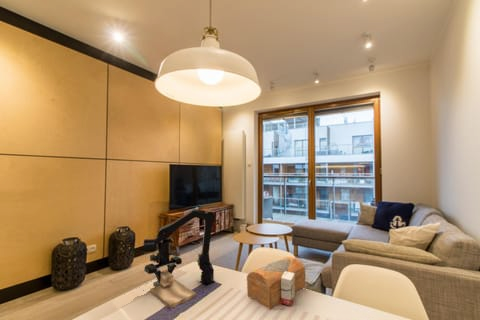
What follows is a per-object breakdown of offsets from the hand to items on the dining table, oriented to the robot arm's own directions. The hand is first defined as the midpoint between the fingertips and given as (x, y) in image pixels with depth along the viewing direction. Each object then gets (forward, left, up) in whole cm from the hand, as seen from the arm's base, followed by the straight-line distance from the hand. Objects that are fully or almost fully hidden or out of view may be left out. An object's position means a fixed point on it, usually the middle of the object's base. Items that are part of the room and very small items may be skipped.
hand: (163, 280), depth 124 cm
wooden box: (-39, +46, -4) cm, 60 cm away
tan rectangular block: (0, +1, -1) cm, 2 cm away
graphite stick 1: (0, -3, -3) cm, 4 cm away
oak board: (0, +9, -3) cm, 10 cm away
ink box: (-35, +54, -3) cm, 65 cm away
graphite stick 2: (0, -1, -3) cm, 3 cm away
